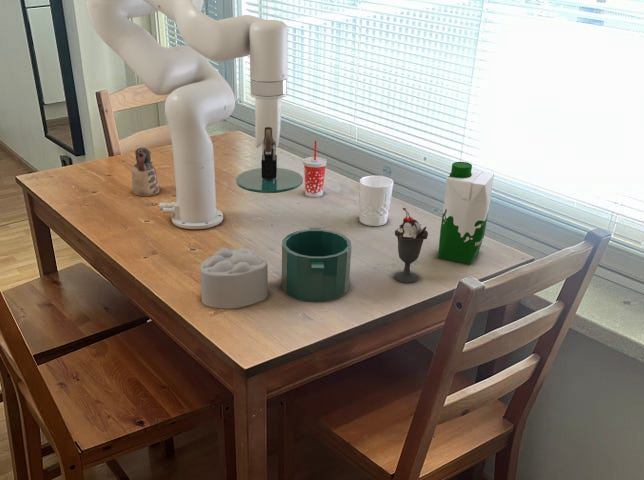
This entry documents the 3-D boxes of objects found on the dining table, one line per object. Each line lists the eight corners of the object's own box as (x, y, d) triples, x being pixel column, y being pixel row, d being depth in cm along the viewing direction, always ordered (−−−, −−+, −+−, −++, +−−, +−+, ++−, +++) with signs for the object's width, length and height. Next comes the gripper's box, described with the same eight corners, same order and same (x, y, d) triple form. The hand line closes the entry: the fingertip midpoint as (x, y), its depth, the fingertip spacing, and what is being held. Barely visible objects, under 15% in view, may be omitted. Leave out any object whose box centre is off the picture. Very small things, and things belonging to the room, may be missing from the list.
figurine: (162, 187, 196) (158, 143, 189) (155, 197, 190) (150, 152, 183) (137, 186, 197) (132, 142, 190) (129, 195, 191) (124, 151, 184)
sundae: (386, 271, 152) (392, 204, 144) (417, 269, 153) (425, 202, 144) (393, 285, 147) (401, 216, 139) (426, 284, 147) (435, 215, 139)
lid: (233, 195, 152) (232, 167, 148) (238, 172, 164) (237, 145, 160) (303, 196, 151) (303, 167, 148) (302, 172, 163) (303, 145, 160)
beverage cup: (307, 188, 194) (309, 136, 186) (328, 191, 192) (331, 139, 184) (298, 196, 189) (299, 142, 182) (320, 199, 187) (322, 145, 179)
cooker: (281, 308, 140) (281, 264, 135) (282, 264, 156) (282, 223, 150) (351, 309, 139) (354, 264, 134) (345, 265, 155) (348, 224, 150)
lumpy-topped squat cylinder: (273, 297, 143) (273, 258, 139) (215, 314, 138) (213, 274, 133) (247, 277, 151) (246, 239, 146) (192, 292, 145) (189, 253, 141)
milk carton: (444, 243, 164) (456, 157, 152) (484, 251, 160) (500, 163, 149) (432, 258, 157) (444, 169, 146) (473, 267, 153) (489, 176, 142)
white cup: (388, 228, 171) (392, 187, 166) (355, 226, 172) (358, 185, 167) (390, 215, 178) (394, 176, 172) (358, 213, 179) (361, 174, 173)
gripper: (252, 78, 153) (253, 163, 163) (248, 97, 140) (250, 188, 150) (287, 78, 153) (286, 163, 163) (287, 97, 139) (286, 188, 150)
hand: (269, 174), depth 156 cm, fingers closed on lid, 2 cm apart
